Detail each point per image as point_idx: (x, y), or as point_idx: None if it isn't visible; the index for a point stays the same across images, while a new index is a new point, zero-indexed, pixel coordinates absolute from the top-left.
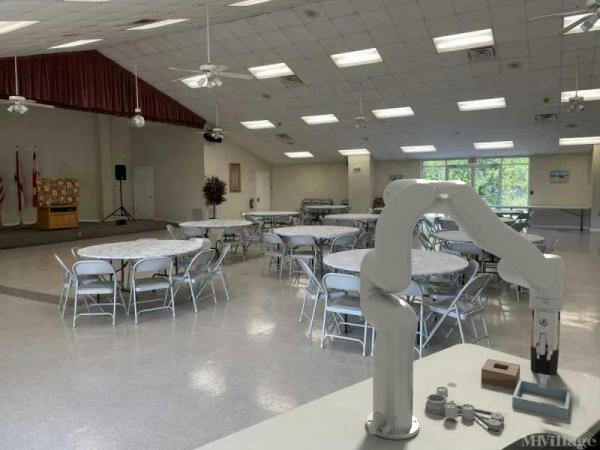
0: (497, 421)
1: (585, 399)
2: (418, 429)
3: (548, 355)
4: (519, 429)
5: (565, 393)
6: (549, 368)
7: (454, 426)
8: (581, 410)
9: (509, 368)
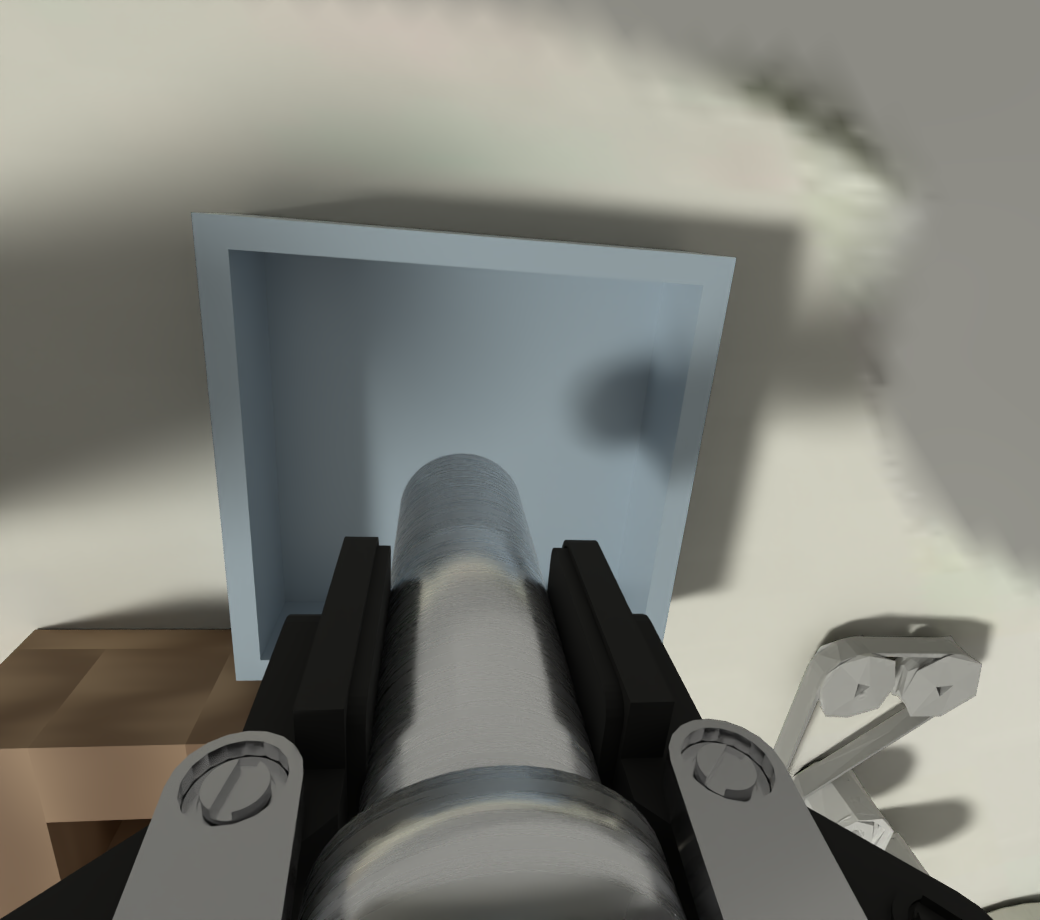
0: (934, 675)
1: (50, 43)
2: (1036, 912)
3: (827, 854)
4: (882, 542)
5: (245, 264)
6: (623, 600)
7: (933, 807)
8: (371, 112)
9: (122, 808)
